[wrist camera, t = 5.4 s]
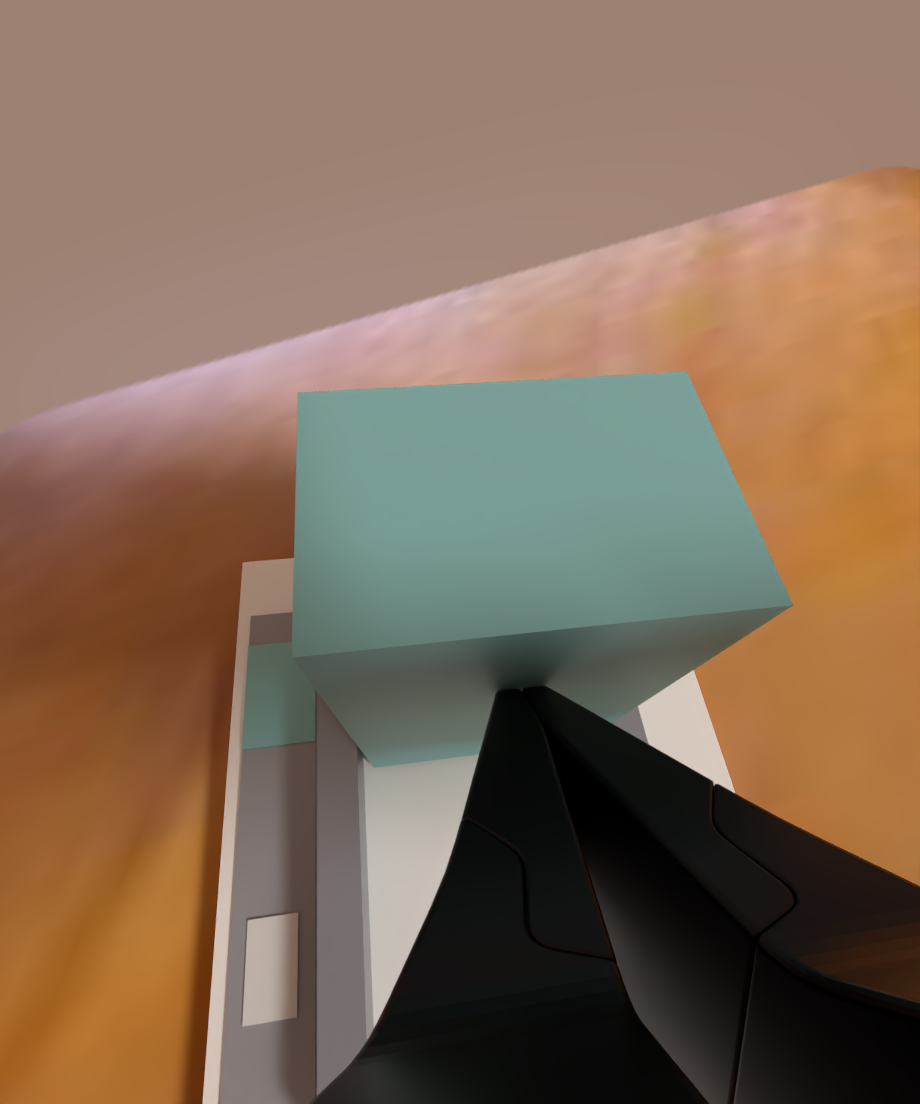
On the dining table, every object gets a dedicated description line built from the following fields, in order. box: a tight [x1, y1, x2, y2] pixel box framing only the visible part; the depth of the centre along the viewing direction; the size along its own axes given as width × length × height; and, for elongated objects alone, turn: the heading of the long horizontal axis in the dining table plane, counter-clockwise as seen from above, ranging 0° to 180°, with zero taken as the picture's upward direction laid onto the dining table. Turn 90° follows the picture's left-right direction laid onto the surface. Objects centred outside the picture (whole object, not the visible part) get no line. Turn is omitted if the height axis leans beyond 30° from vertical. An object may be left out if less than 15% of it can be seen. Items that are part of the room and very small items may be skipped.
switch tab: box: [292, 372, 793, 768], centre depth 12 cm, size 4×6×10 cm, turn 97°
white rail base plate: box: [202, 558, 735, 1104], centre depth 13 cm, size 20×14×2 cm
